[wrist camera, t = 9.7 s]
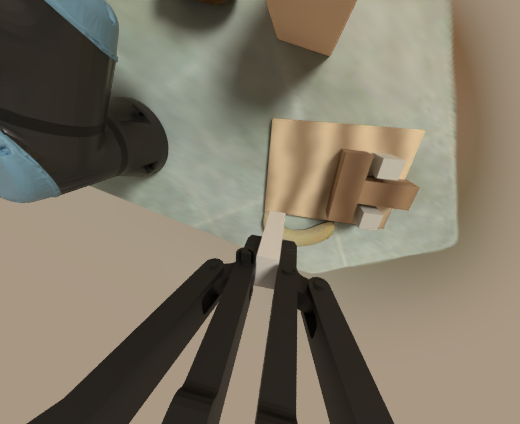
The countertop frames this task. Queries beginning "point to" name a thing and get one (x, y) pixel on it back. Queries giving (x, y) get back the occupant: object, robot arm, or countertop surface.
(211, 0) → the potato
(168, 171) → the countertop surface
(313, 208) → the board
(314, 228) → the fruit
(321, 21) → the pump bottle
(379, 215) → the posts
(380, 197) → the tee
